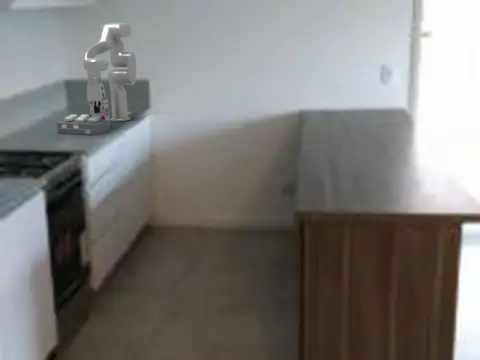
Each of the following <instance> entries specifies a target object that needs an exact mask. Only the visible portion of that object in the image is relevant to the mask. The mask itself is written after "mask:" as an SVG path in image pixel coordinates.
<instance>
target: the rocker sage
mask: <svg viewBox="0 0 480 360" xmlns="http://www.w3.org/2000/svg"><path fill="white" fill-rule="evenodd" d="M100 118H101V116H100V115H93V116H92V117H91V118H90V117H89V118H88V119H87V120H88V123H95V122H96V121H97V120H99V119H100Z"/></svg>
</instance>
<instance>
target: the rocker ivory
mask: <svg viewBox="0 0 480 360" xmlns="http://www.w3.org/2000/svg"><path fill="white" fill-rule="evenodd" d="M89 118H90V114H86V113H85V114H81V115H79V116H78V118H76V122H84V121H85V120H86V119H87V120H88V119H89Z"/></svg>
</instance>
